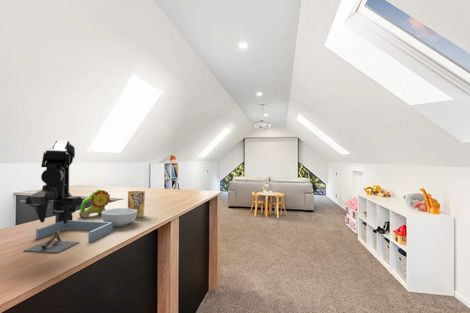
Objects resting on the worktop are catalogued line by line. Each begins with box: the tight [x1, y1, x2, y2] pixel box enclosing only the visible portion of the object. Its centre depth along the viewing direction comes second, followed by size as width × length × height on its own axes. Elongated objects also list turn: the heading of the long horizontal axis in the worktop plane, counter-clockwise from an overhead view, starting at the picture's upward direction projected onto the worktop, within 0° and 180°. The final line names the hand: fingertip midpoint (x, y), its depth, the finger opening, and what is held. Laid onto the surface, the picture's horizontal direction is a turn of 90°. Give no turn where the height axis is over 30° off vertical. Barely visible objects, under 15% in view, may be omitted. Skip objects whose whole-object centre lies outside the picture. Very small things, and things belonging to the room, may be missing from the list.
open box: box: [35, 219, 114, 243], centre depth 109 cm, size 24×16×4 cm, turn 86°
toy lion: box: [78, 189, 111, 219], centre depth 145 cm, size 16×6×15 cm, turn 144°
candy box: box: [127, 190, 146, 218], centre depth 145 cm, size 9×4×15 cm, turn 103°
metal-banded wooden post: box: [41, 231, 62, 250], centre depth 93 cm, size 2×8×4 cm, turn 176°
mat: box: [23, 240, 80, 254], centre depth 93 cm, size 13×11×1 cm
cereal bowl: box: [101, 207, 137, 227], centre depth 127 cm, size 17×17×7 cm
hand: (53, 222), depth 93 cm, fingers open, 9 cm apart
